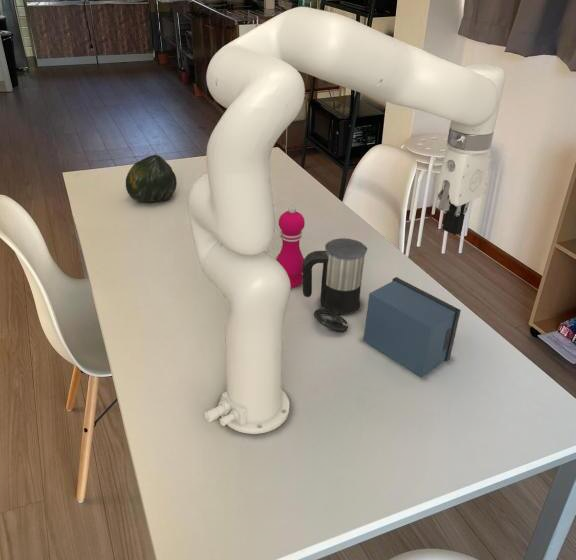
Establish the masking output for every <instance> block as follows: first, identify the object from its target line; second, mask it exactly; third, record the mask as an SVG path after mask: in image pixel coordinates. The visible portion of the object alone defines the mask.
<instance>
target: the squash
mask: <svg viewBox="0 0 576 560" xmlns="http://www.w3.org/2000/svg"><path fill="white" fill-rule="evenodd" d="M177 184H178V183H177V176H176V173H175V172H174V171H173V168H172V166H171V165H170V164H169V163H168V162H167V161H166V160H165V159H164V158H163V157H162V156H161V155H159V154H153V155H149V156H147V157H144V158H142V159H141V160H139V161H137V162H135V163H134V164H133V165H132V166H131V168H130V169H129V171H128V172H127V175H126V177H125V190H126V192H127V194H128V195H129V197H131V198H132V199H133V200H135V201H137V202H138V203H146V202H148V203H154V202H167V201H169V200H170V199H172V197H173V194H174V193H175V191H176V189H177Z"/></svg>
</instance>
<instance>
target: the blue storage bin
mask: <svg viewBox="0 0 576 560" xmlns="http://www.w3.org/2000/svg"><path fill="white" fill-rule="evenodd" d="M461 311H462V310H461V309H460V308H458V307H456V306H454V305H452V304H450V303H448V302H447V301H444V300H442V299H440V298H438V297H436V296H434V295H432V294H430V293H429V292H427V291H425V290H423V289H421V288H419V287H417V286H415V285H413V284H411V283H409V282H407V281H405V280H403V279H402V278H400V277H398V276H395V277H393V278H392V281H390V282H388V283H386V284H384V285H382V286H381V287H379V288H377V289H375V290H373V291H372V292H370V293H369V294H368V302H367V309H366V317H365V326H364V333H363V342H364V343H366V344H367V345H369V346H371V347H372V348H374V349H375V350H377V351H379V352H380V353H382V354H383V355H385V356H387V357H388V358H390V359H391V360H393V361H394V362H396V363H397V364H399V365H401V366H402V367H404V368H406V369H407V370H409V371H410V372H412V373H413V374H415V375H417V376H418V377H419V378H423V377H424V376H425V375H427V374H428V373H430V372H431V371H433V370H434V369H435V368H436V367H438V366H439V365H441V364H443V363H444V362H448V361H449V360H450V359H451V356H452V351H453V347H454V342H455V336H456V333H457V328H458V325H459V320H460V315H461Z"/></svg>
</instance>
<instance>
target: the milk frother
mask: <svg viewBox="0 0 576 560" xmlns="http://www.w3.org/2000/svg"><path fill="white" fill-rule="evenodd" d="M324 248H325V250H315V251H311V252H309V253H308V254H306V256H305V257H303V258H304V260H303V266H302V268H303V273H302V275H303V278H302V293H303V294H302V295H303V296H304V297H306V298H310V297H311V296H312V295H313V294H312V293H313V267H314V266H315V265H316V264H322V275H321V286H320V301H319V302H320V306H321V307H322V308H317V309H315V310H314V312H313V317H314V318H315V319H316V321H317V322H319V323H320V325H322V326H324V327H325V328H327V329H329V330H331V331H333V332H339V333H344V332H346V331H347V330H348V328H349V324H348V322H347V320H346V318H344V317H342V316H340V315H350V314H353V313H355V312H357V311H358V310H359V309H360V307H361V301H360V300H361V288H362V280H363V272H364V265H365V257H366V254H367V252H368V247H367V246H366V245H365V244H364V243H363V242H362V241H359V240H356V239H352V238H345V237H343V238H342V237H340V238H334V239H331V240H329V241H327V242H326V243H325V245H324ZM322 315H325V316H329V317H332V318H330V319H329V318H324V317H323V316H322Z"/></svg>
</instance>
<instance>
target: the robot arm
mask: <svg viewBox="0 0 576 560" xmlns="http://www.w3.org/2000/svg"><path fill="white" fill-rule="evenodd" d="M206 69H207V70H206V76H205V79H206V86H207V89H208V92H209V94H210V95H211V97H212V98H213V99H214V100H215V102H216V103H218V104H220V105H221V106H222V107H224V108H225V109H226V110H225V112H224V113H223V114H222V116H221V118H220V119H219V120H218V121H217V124H216V125H215V127H214V129H213V130H212V132H211V134H210V136H209V139H208V142H207V147H206V155H205V156H206V157H205V158H206V170H207V172H205V173H203V174H202V175H201V176H199V177H198V178H197V179H196V180H195V182H194V183H193V185H192V186H191V189H190V191H189V194H188V199H187V213H188V219H189V225H190V228H191V234H192V239H193V243H194V247H195V252H196V256H197V260H198V264H199V266H200V269H201V272H202V273H203V274H204V276H205V277H206V278H207V279H208V281H210V283H212V285H213V286H215V288H216V289H217V290H218V291H219V292H220V294H222V295H223V296H224V297H225V299H226V300H227V302H228V304H229V307H230V312H229V314H228V316H227V319H226V321H225V326H224V341H225V364H226V365H225V366H226V390H225V391H224V392H223V393H221V397H220V400H219V402H218V405H216V406H214V407H212V408H210V409H208V410H207V411H205V412H204V415H203V416H204V418H205V420H206V421H207V422H208V423H209V424H211V423H212V422H214V421H215V420H217V419H219V423H220V425H221V426H222V427H225V426H226V425H227V426H228V427H229V428H230V429H232V430H234V431H237V432H239V433H242V434H249V435H257V434H264V433H268V432H272V431H274V430H276V429H278V428H279V427H280V426H281V425H283V424H284V422H286V420H287V418H288V416H289V414H290V409H291V408H290V404H291V403H290V399H289V396H288V395H287V393H286V392H285V391H284V390H283V389H282V386H283V384H282V383H283V353H284V352H283V351H284V325H285V324H284V323H285V316H286V311H287V306H288V303H289V299H290V295H291V289H292V288H291V285H290V279H289V277H288V274H287V273H286V271H285V269H284V268H283V267H282V266H281V264H280V263H279V262H278V261H277V260H276V259H277V258H274V257H273V256H272V255H271V254H270V253H268V252H267V251H266V250H267V249H268V248H269V246H270V245H271V244H272V242H273V240H274V236H275V233H276V213H275V206H274V198H273V188H272V181H271V180H272V179H271V165H270V162H271V155H272V151H273V149H274V147H275V144H276V143H277V141H278V139H279V138H280V137H281V135H282V134H283V133H284V131H286V129H287V128H288V127H290V125H291V124H292V122H294V120H296V118H297V116H298V115H299V113H300V111H301V109H302V107H303V104H304V102H305V101H304V100H305V94H306V88H305V82H304V78H303V77H302V75H301V73H303V74H305V75H309V76H312V77H315V78H316V79H319V80H322V81H325V82H328V83H330V84H334V85H337V86H340V87H342V88H346V89H349V90H352V91H354V92H358V93H360V94H363V95H366V96H369V97H372V98H374V99H376V100H377V99H378V100H381V101H384V102H386V103H390V104H393V105H396V106H400V107H403V108H408V109H412V110H417V111H421V112H424V113H428V114H431V115H434V116H437V117H440V118H442V119H446V120H449V121H450V124H449V129H448V135H447V140H446V150H445V153H444V156H443V160H442V164H441V167H440V172H439V175H438V180H437V186H436V199H437V200H440V201H439V203H438V207H437V208H438V209H439V210H440V211H443V212H444V213H445V215H444V218H443V219H444V220H443V225H442V230H443V231H444V232H447V233H449V234H451V235H454V236H457V235H458V234H460V233H462V232H463V227H464V223H465V216H466V213H467V212H468V209H469V205H470V202H472V201H474V200H477V199H478V198H480V197H482V196H483V195H484V194H485V193H486V189H487V184H488V179H489V174H490V173H489V171H490V165H491V158H492V157H491V155H492V144H493V143H492V142H493V137H494V133H495V129H496V124H497V119H498V115H499V111H500V110H499V109H500V105H501V101H502V96H503V91H504V86H505V82H506V73H505V70H504V69H503V68H501V67H499V66H497V65H493V64H487V63H471V64H466V65H464V66H461V65H459V64H456V63H455V62H451V61H449V60H446V59H444V58H442V57H439V56H436V55H434V54H433V53H430V52H428V51H426V50H424V49H422V48H419V47H416V46H414V45H413V44H410V43H407V42H404V41H402V40H400V39H397V38H395V37H392V35H391V36H390V35H388V34H385V33H384V32H381V31H379V30H377V29H374V28H372V27H371V26H368V25H367V24H366V25H365V24H363V23H361V22H359V21H357V20H354V19H353V18H350V17H348V16H345V15H343V14H341V13H340V14H339V13H336V12H332V11H327V10H323V9H317V8H312V7H309V6H297V7H294V8H290V9H288V10H285V11H283V12H281V13H279V14H277V15H275V16H274V17H272V18H270V19H268V20H266V21H265V22H263V23H261V24H260V25H258V26H256V27H254V28H252V29H251V30H249V31H248V32H246V33H243V34H242V35H240V36H239V37H236V38H235V39H233V40H231V41H230V42H228V43H227V44H225V45H224V46H222V47H221V48H220V49H218V50H217V52H215V54H214V55H213V56H212V58H211V59H210V61H209V64H208V66H207V68H206ZM300 72H301V73H300Z"/></svg>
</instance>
